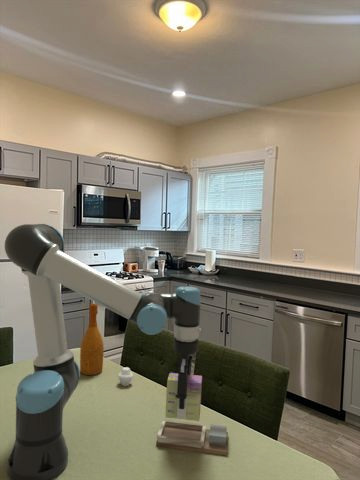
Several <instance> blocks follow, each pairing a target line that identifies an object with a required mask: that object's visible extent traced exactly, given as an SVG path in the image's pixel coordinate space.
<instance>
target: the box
mask: <svg viewBox="0 0 360 480" xmlns="http://www.w3.org/2000/svg"><path fill="white" fill-rule="evenodd" d="M166 381H167V382H166V399H165V418H167V419H168V418H170V419H176V420H182V419H181V418H177V405H178V398H177V397H175V395H177V388H178V372H176V373H175V372H169V374H168V377H167V379H166ZM202 382H203V376H202V375H196V374H191V375H188V382H187V411H186V419H184V420H187V421H194V422H195V421H196V422H199V421H200V418H201V416H200V415H201V406H202V405H201V403H202V386H203V385H202V384H203V383H202Z"/></svg>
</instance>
